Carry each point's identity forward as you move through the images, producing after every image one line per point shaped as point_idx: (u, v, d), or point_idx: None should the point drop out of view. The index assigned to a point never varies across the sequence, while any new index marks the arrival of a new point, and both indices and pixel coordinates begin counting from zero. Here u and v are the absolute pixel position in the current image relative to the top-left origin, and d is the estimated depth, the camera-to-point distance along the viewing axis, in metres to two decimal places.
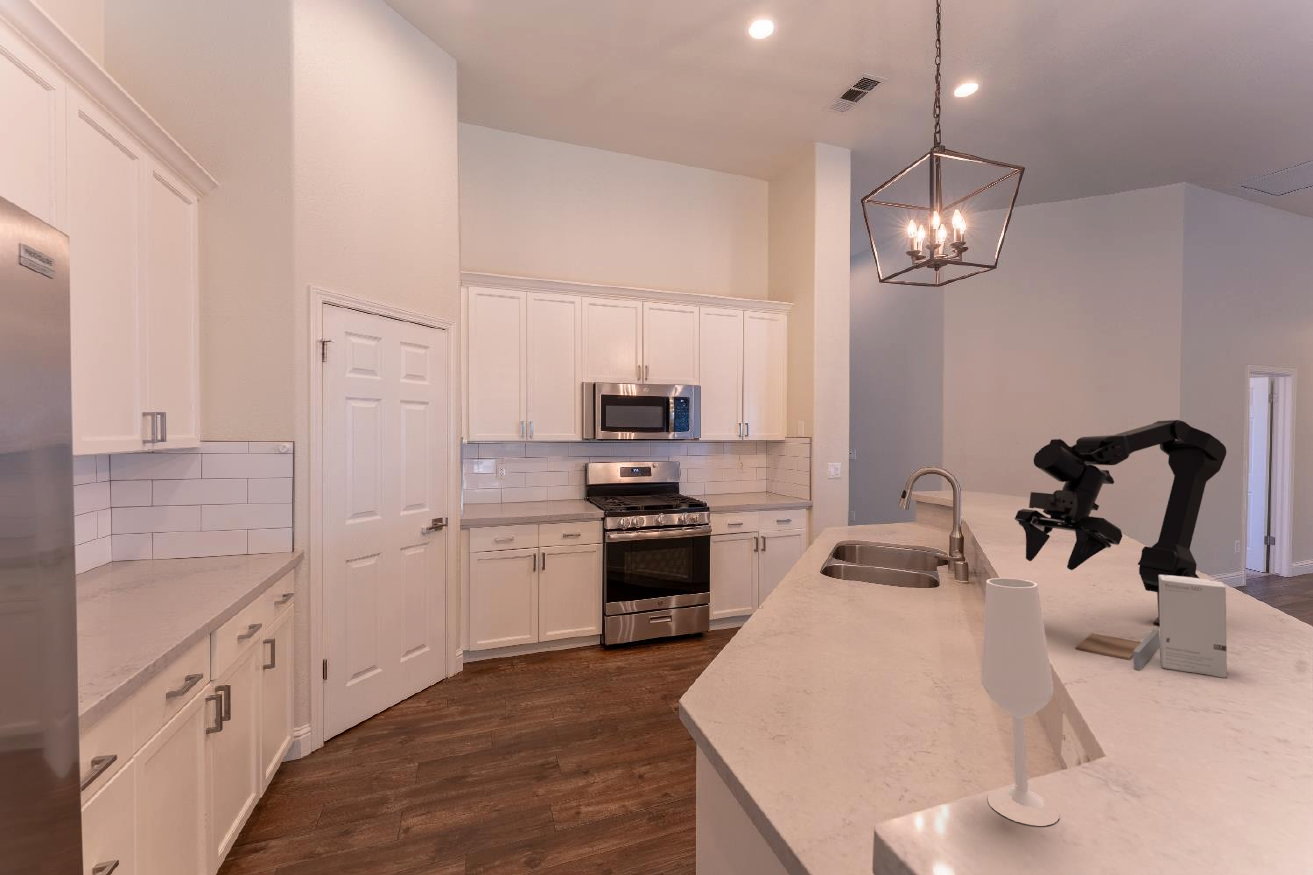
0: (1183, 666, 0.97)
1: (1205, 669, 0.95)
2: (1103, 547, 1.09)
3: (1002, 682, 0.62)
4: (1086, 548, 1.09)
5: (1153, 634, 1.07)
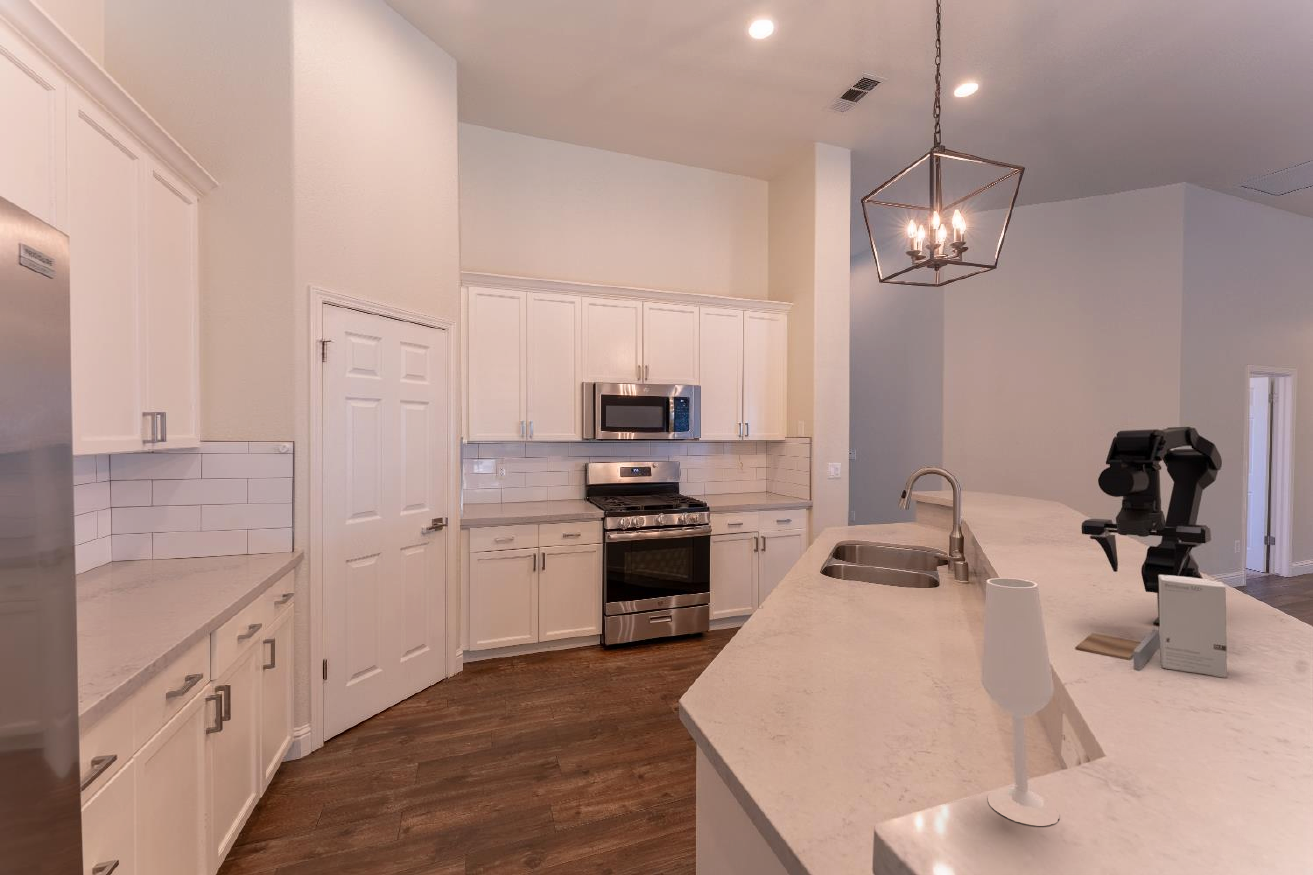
0: (1183, 666, 0.97)
1: (1205, 669, 0.95)
2: None
3: (1002, 682, 0.62)
4: None
5: (1153, 634, 1.07)
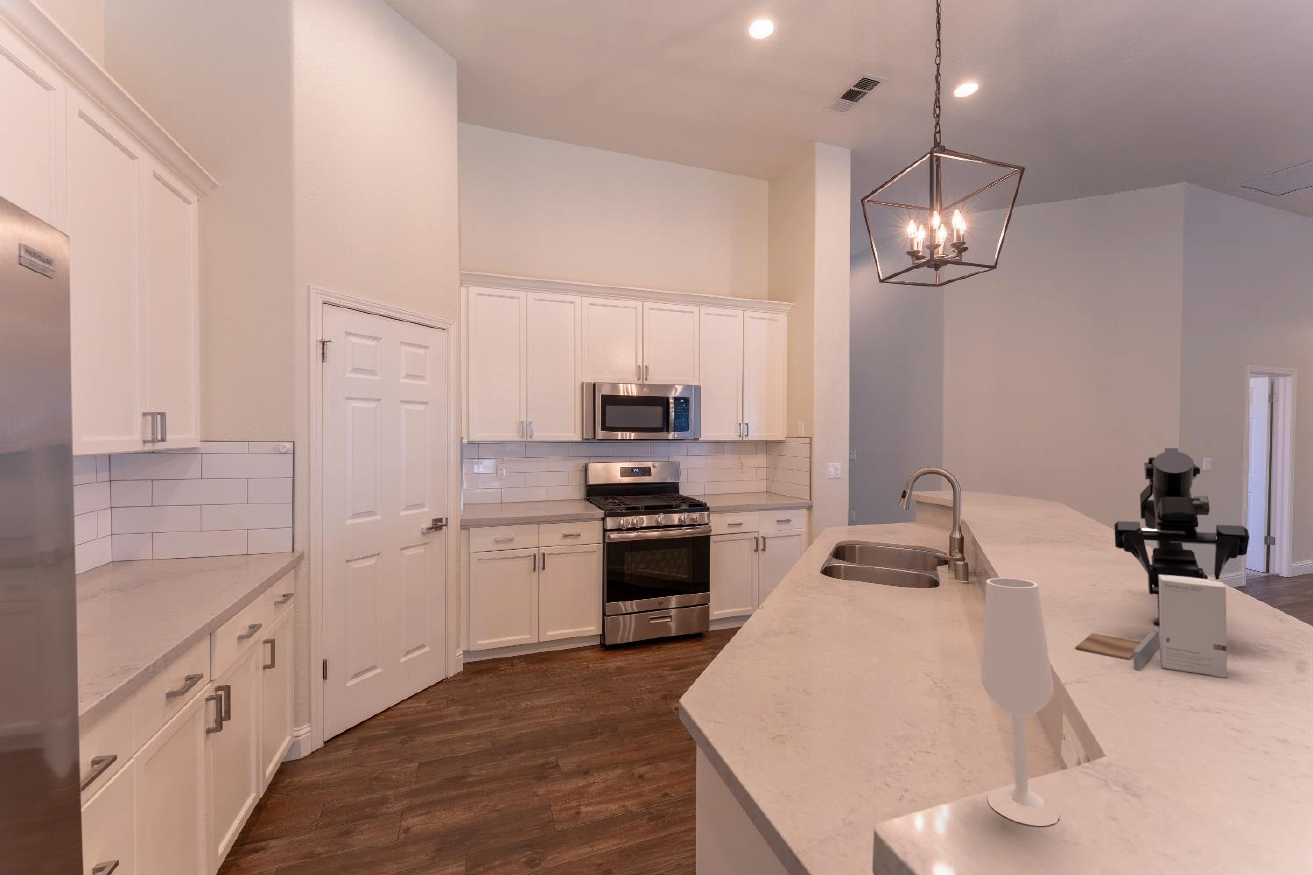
0: (1183, 666, 0.97)
1: (1205, 669, 0.95)
2: (1228, 558, 1.07)
3: (1002, 682, 0.62)
4: None
5: (1153, 634, 1.07)
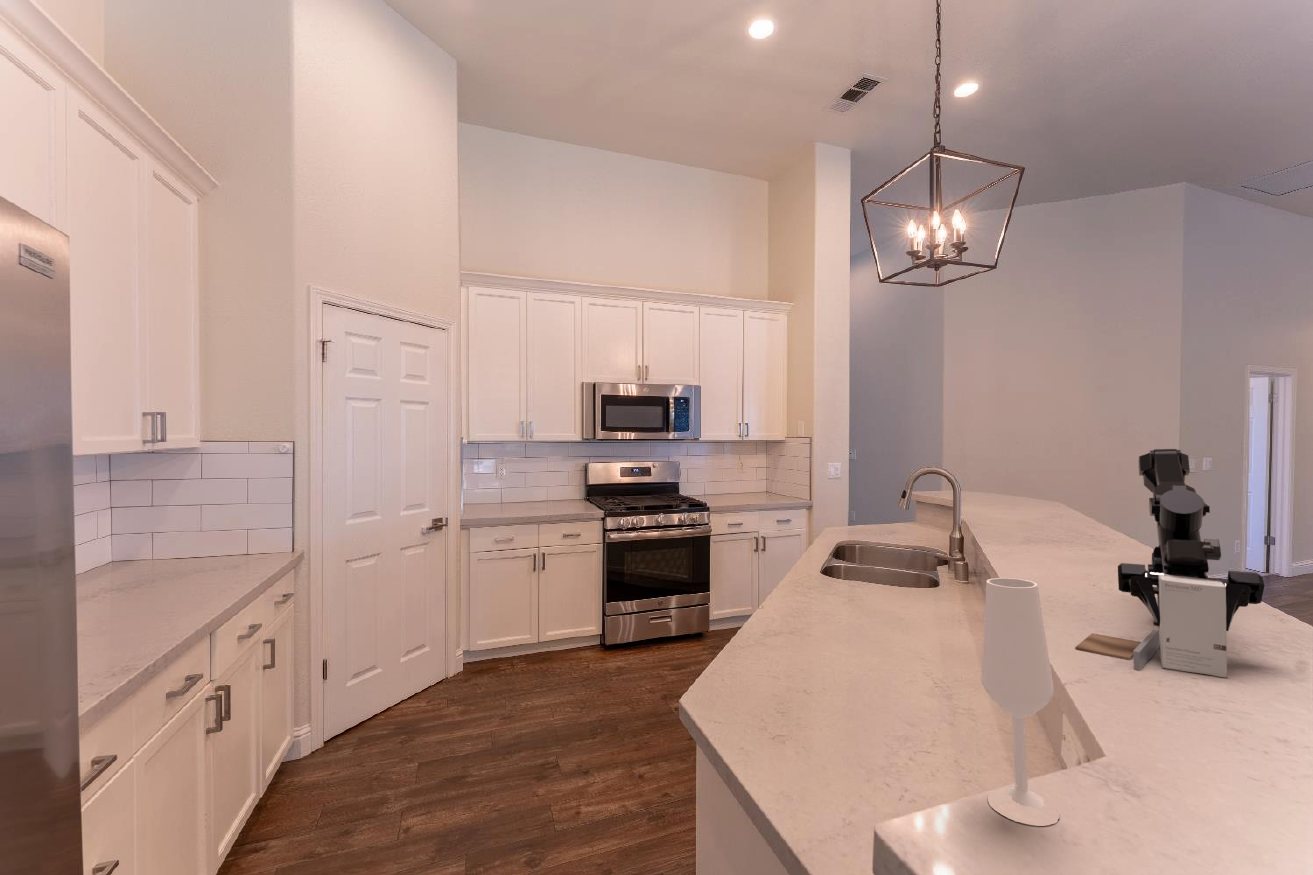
0: (1183, 666, 0.97)
1: (1205, 669, 0.95)
2: (1238, 606, 0.99)
3: (1002, 682, 0.62)
4: None
5: (1153, 634, 1.07)
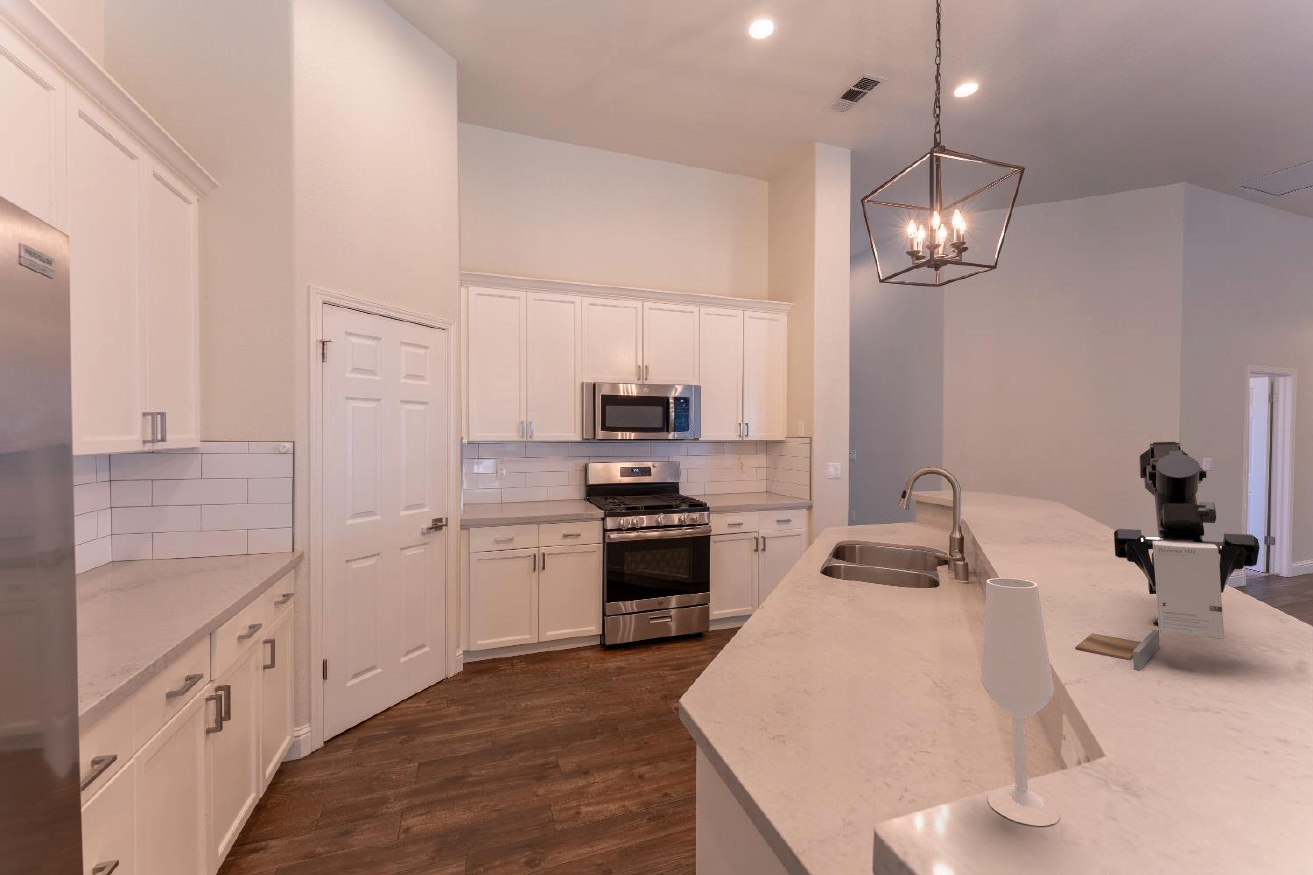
0: (1180, 629, 0.97)
1: (1203, 631, 0.96)
2: (1234, 569, 1.00)
3: (1002, 682, 0.62)
4: None
5: (1153, 634, 1.07)
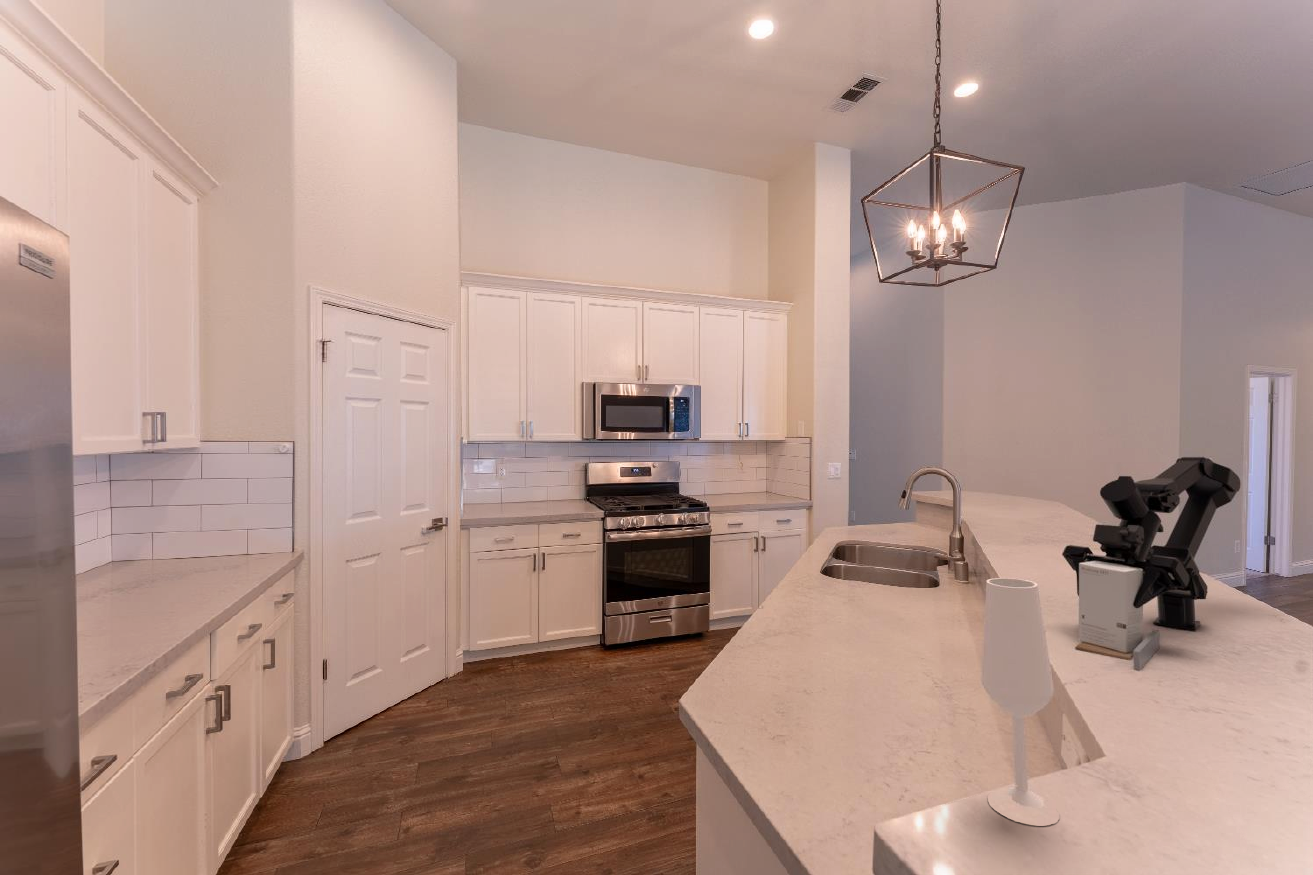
0: (1094, 640, 1.09)
1: (1111, 644, 1.07)
2: (1167, 589, 1.06)
3: (1002, 682, 0.62)
4: (1152, 587, 1.06)
5: (1153, 634, 1.07)
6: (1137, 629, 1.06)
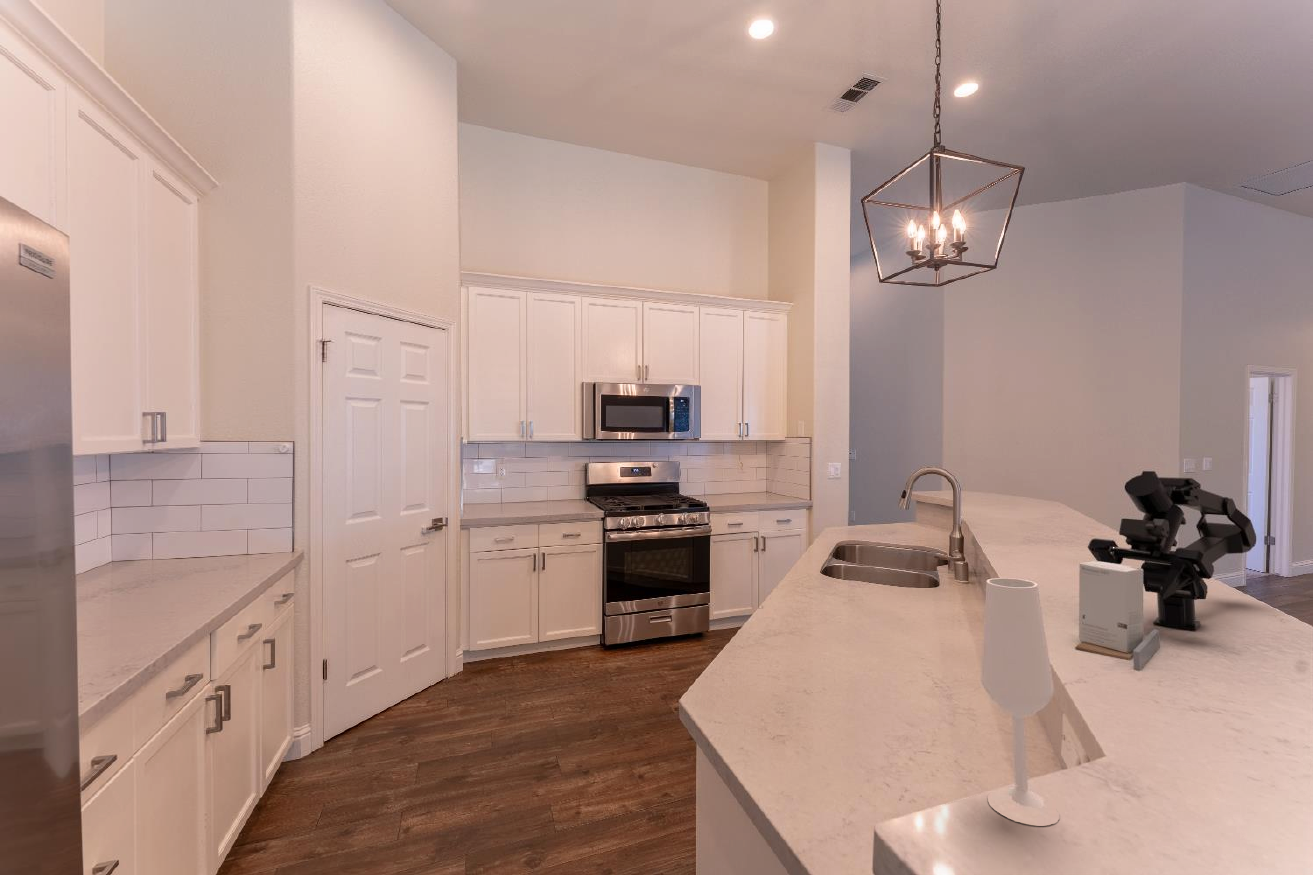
0: (1094, 640, 1.09)
1: (1111, 644, 1.07)
2: (1192, 580, 1.10)
3: (1002, 682, 0.62)
4: (1178, 579, 1.10)
5: (1153, 634, 1.07)
6: (1138, 629, 1.06)
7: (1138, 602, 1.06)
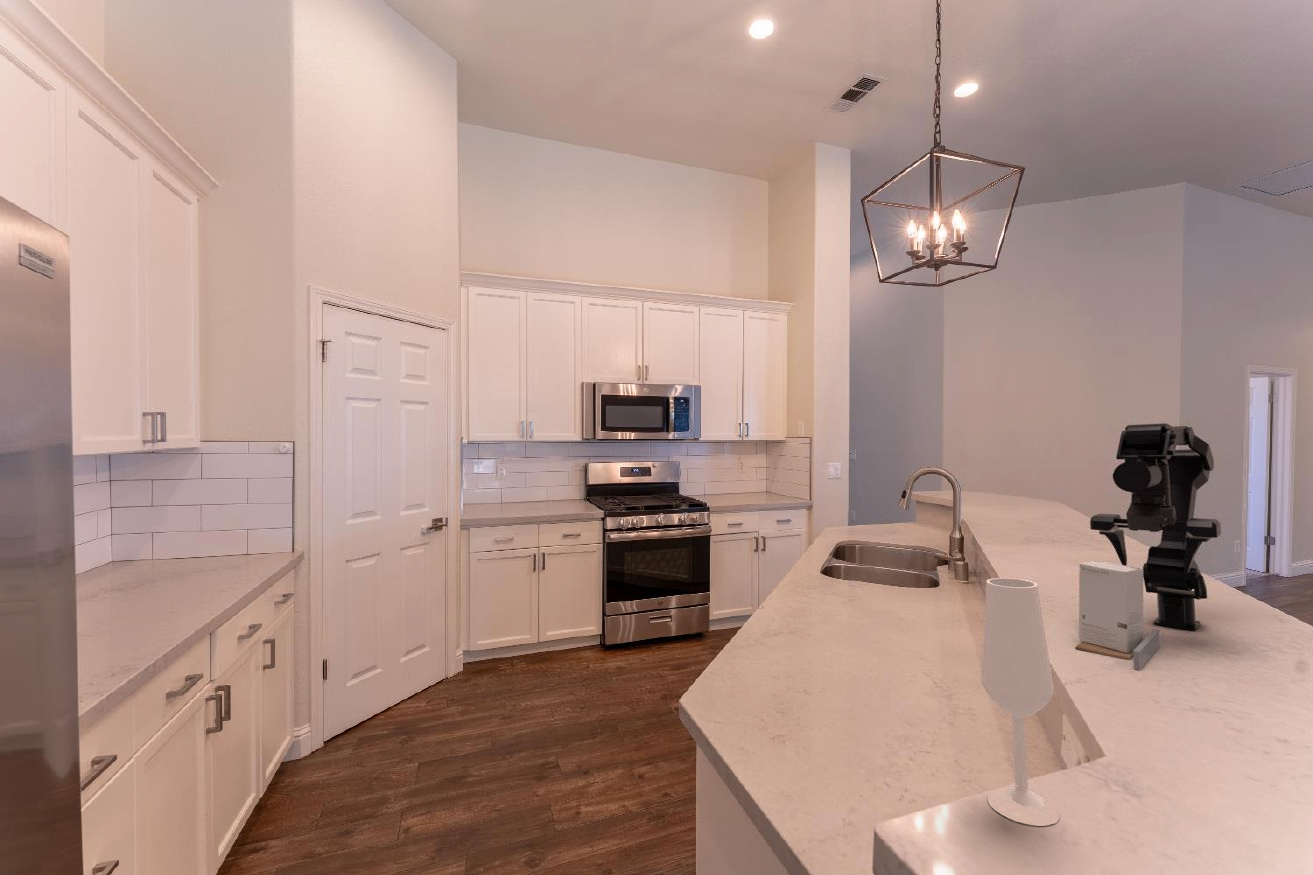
0: (1094, 640, 1.09)
1: (1111, 644, 1.07)
2: None
3: (1002, 682, 0.62)
4: None
5: (1153, 634, 1.07)
6: (1138, 629, 1.06)
7: (1138, 602, 1.06)
